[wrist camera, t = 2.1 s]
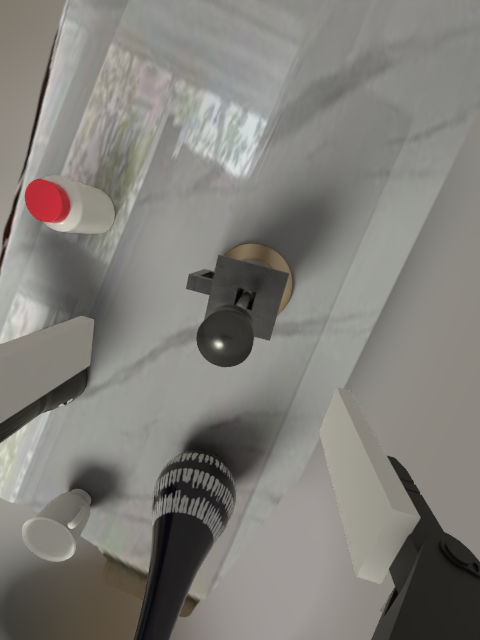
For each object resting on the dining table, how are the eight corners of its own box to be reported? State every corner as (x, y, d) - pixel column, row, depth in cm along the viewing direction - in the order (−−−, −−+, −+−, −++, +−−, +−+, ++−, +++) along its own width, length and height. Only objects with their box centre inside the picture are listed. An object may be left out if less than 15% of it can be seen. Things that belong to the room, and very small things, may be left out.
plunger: (216, 312, 39) (167, 372, 20) (228, 262, 37) (184, 278, 18) (265, 325, 38) (260, 398, 20) (279, 275, 36) (289, 305, 18)
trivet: (205, 311, 50) (204, 312, 49) (222, 234, 46) (221, 234, 45) (279, 331, 49) (279, 332, 48) (302, 255, 45) (302, 255, 44)
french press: (201, 298, 48) (177, 316, 36) (212, 247, 46) (190, 247, 33) (270, 316, 48) (270, 341, 35) (284, 265, 45) (290, 272, 33)
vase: (158, 476, 61) (63, 673, 33) (184, 423, 57) (98, 599, 28) (221, 505, 61) (180, 726, 33) (251, 455, 57) (234, 661, 29)
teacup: (121, 500, 64) (95, 544, 55) (81, 523, 68) (50, 569, 58) (87, 464, 62) (54, 504, 53) (47, 490, 66) (9, 532, 56)
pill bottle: (65, 198, 47) (6, 184, 37) (101, 179, 46) (51, 159, 35) (86, 241, 49) (36, 239, 38) (122, 224, 47) (80, 217, 37)
